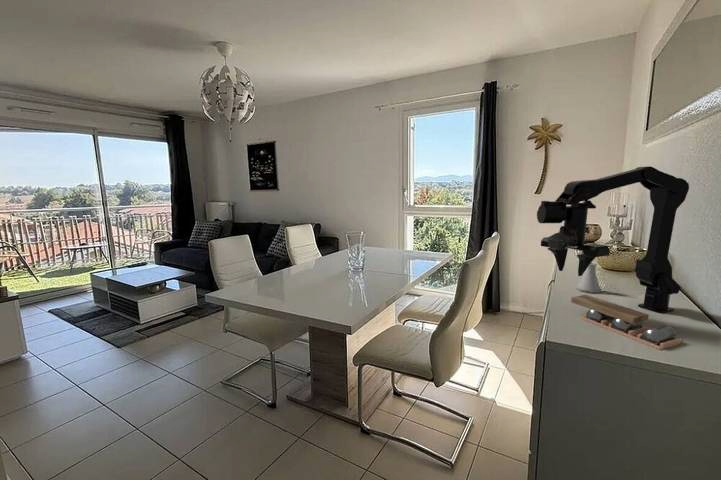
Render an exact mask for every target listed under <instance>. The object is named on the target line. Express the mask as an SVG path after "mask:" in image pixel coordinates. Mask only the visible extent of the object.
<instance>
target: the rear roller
mask: <svg viewBox="0 0 721 480" xmlns="http://www.w3.org/2000/svg"><path fill="white" fill-rule="evenodd" d="M585 314H586V317H587V319H590V320H593V321H595V322H598V323H601V321H603V320H607V319H612V318H614V317H612V316H609V315H606V314H603V313H600V312H597V311H595V310H592V309H589V310H588V311H586V313H585Z"/></svg>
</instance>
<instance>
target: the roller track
mask: <svg viewBox="0 0 721 480" xmlns="http://www.w3.org/2000/svg"><path fill="white" fill-rule="evenodd" d="M580 319H581V320H583V321H585V322H587V323H590V324H592V325H595V326H598V327H600V328H603V329H605V330H609V331H610V332H612V333H616V334H618V335H620V336H623V337H626V338H629V339H631V340H634V341H636V342H638V343H641V344H644V345H646V346H648V347H651V348H654V349H656V350H660V351H661V350H662V349H667V348H671V347H674V346H678V345H681V344H684V342H685V341H684V339H681V338H678V337H676V338H675V339H673V340H670V341H666V342H662V343H660V344H659V345H658V344H656V345H655V344H652V343H650V342H647V341H645V340H643V338H642V333H643V332H644V331H646V330H650V329H651V328H650V327H648V326H644V325H643V326H642V327H641V328H639V329H634V330H630V331H627V332H621V331H619V330H616V329H613V328H612V326H611V322H612V321H613V320H615V319H617V318H612V319H607V320H603V321H600V322H595V321H593V320H590V319H587V317H586V313H584V314H583V316H581V317H580Z"/></svg>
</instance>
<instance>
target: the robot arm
mask: <svg viewBox="0 0 721 480" xmlns="http://www.w3.org/2000/svg"><path fill="white" fill-rule="evenodd" d="M637 183H639V184H640V185H641V186H642V187H643V188H645V189H646V190H648V191H649V200H650V202H651V204H652V207H653V215H652V220H651V227H650V232H649V237H648V243H647V249H646V254H645V255H644V257H642V259H640V258H637V259H636V260H635V268H634V270H633V272H635V277H636V278H637V279H638V280H639V284H640V285H641V286H644V287H645V292H644V293H645V294H644V299H643V302H642V303H639V304H637V306H638V307H640V308H643V309H647V310H649V311H652V312H657V313H661V314H662V313H663V314H664V313H668V312H672V311H675V308H673V307H671V306H669V305H670V299H671V295H673V294H674V295H675V294H676V295H677V294H678V293H679V292H680V290H681V286H680V284H678V282H677V281H676V280H675V279H673V267H672V265H671V262H670V259H669V252H670V248H671V247H670V246H671V241H672V236H673V231H674V226H675V225H674V224H675V219H676V213H677V210H678V208H679V207H680V206H681V205H682V204H683V203H684V202H685V201H686V199H687V195H688V193H689V189H690V184H689V182H687V180H685V179H684V178H681V177H676V176H674V175H672V174H669V173H666V172H664V171H661V170H659V169H657V168H655V167H653V166H638V167H636V168H633V169H630V170H627V171H622V172H618V173H615V174H611V175H608V176H604V177H600V178H596V179H585V180H583V179H582V180H574V181H573V180H572V181H569V182H568V183H566V185H565V186H564V189H563V191H562V192H561V193H560V195H559V196H558V197H557V198H556V199H555V201H549V200H541V203H540V205H539V207H538V209H537V210H536V218H537V222H538V223H539V224H561V223H563V225H562V226H561V225H560V227H559V231H558V232H555V233H554V234H551V235H549V236H545V237H542V239H541V240H540V246H541V247H543V248H544V247H545V248H547V250H548V251H550V252H551V253H552V254H553V255H554V258H555V261H556V265H557V267H558V271H559V272H562V271H564V268H565V265H566V264H565V263H566V260H567V254H568V251H569V249H571V250H576V251H581V253H578V254H576V257H577V258H578V267H577V276H578V277H583V276H584V274H585V271H586V269H587V267H588V266H589V265H590V263H593V261H594V260H595V259H596V258H601V257H608V256H610V252H611V249H610V247H609V245H605V244H599V243H592V244H588V240H586V231H590V227H589V226H587V222H588V221H587V220H588V211H589V209H594V210H595V209H596V208H597V205H595V204H593V202H592V201H591V199H593V198H596V197H598V196H600V195H601V194H602V193H604V192H607V191H611V190H615V189H619V188H623V187H626V186H630V185H634V184H637Z"/></svg>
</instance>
